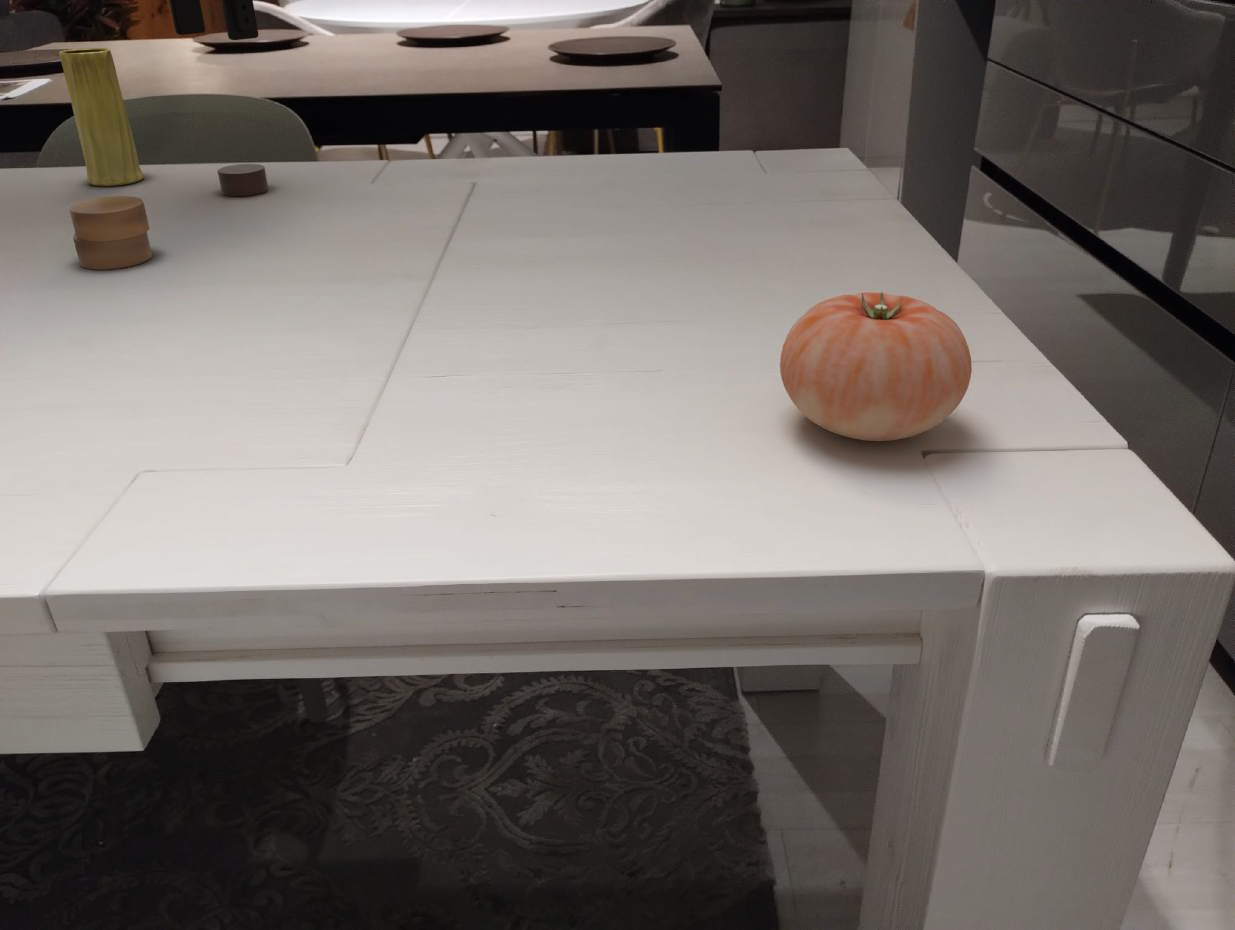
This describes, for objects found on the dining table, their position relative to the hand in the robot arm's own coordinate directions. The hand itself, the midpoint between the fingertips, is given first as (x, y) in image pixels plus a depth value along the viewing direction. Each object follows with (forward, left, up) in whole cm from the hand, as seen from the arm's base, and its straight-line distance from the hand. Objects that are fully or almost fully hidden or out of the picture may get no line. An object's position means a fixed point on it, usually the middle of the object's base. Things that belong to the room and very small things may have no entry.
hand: (216, 36), depth 106 cm
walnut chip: (0, 0, -16) cm, 16 cm away
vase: (-17, -6, -16) cm, 24 cm away
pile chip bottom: (+13, -22, -16) cm, 30 cm away
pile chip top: (+13, -22, -14) cm, 29 cm away
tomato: (+82, -12, -16) cm, 84 cm away
